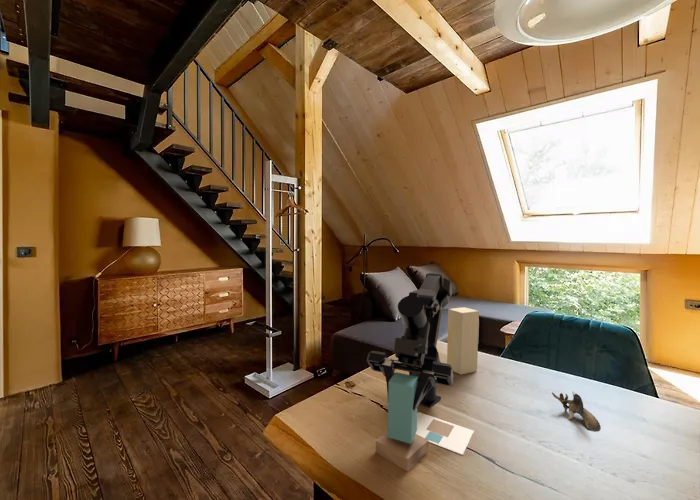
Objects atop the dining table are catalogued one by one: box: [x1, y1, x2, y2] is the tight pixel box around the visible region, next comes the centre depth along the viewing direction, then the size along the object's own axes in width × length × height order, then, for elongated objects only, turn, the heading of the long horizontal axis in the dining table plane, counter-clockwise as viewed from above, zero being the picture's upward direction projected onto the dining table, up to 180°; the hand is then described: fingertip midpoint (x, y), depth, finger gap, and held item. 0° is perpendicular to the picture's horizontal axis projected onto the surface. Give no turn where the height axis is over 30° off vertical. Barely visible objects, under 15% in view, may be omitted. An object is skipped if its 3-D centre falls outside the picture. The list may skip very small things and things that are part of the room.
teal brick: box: [387, 371, 418, 444], centre depth 68 cm, size 5×5×12 cm
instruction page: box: [416, 411, 475, 456], centre depth 76 cm, size 10×14×1 cm
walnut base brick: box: [375, 431, 429, 473], centre depth 69 cm, size 8×8×3 cm
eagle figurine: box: [551, 391, 602, 433], centre depth 81 cm, size 8×8×10 cm
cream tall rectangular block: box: [446, 306, 480, 376], centre depth 111 cm, size 8×7×21 cm
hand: (401, 406), depth 67 cm, fingers closed on teal brick, 5 cm apart
